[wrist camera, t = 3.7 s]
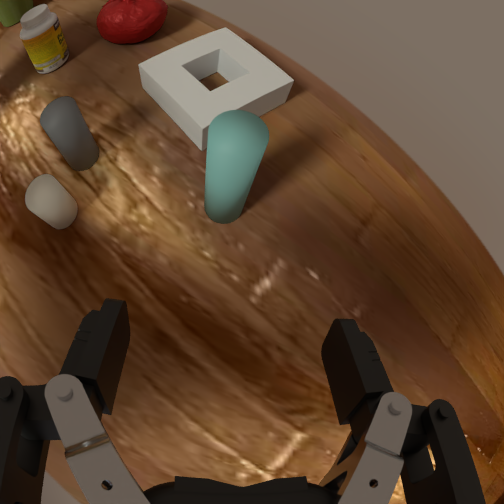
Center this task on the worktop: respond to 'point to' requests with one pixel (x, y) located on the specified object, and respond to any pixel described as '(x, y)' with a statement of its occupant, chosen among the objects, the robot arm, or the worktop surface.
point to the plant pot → (13, 10)
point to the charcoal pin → (70, 133)
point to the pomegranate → (131, 20)
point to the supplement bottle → (43, 39)
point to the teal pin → (232, 162)
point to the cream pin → (51, 201)
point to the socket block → (222, 98)
